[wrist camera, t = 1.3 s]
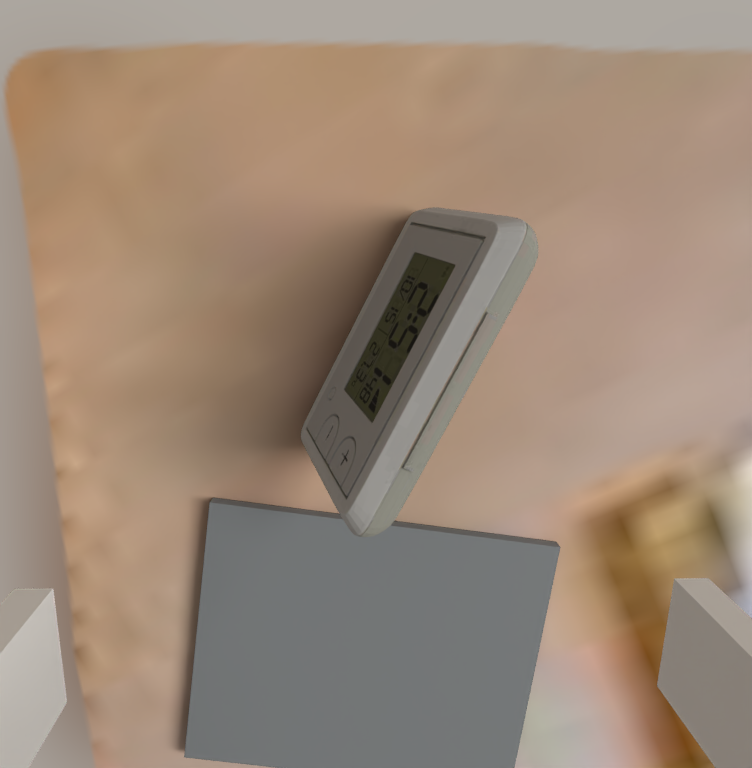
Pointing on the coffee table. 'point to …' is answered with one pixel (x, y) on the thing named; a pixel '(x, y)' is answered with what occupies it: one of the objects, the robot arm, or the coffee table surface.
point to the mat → (363, 642)
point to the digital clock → (413, 357)
